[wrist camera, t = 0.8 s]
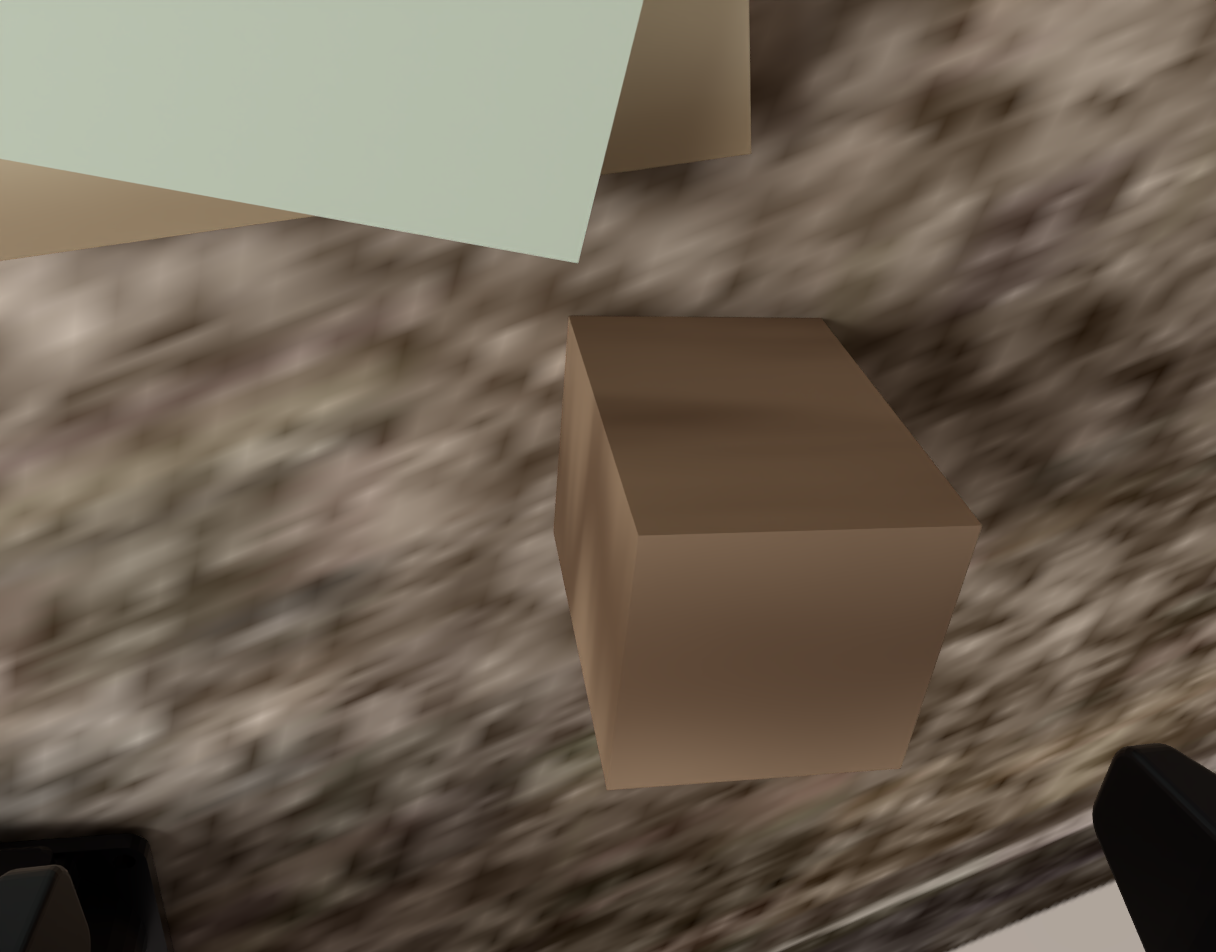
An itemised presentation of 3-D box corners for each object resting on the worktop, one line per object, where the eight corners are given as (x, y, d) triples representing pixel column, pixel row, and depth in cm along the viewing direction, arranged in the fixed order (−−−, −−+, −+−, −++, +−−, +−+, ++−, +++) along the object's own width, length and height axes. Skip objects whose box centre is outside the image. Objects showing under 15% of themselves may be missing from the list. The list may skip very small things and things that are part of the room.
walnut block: (777, 524, 24) (900, 768, 18) (553, 531, 23) (606, 790, 17) (821, 317, 21) (982, 525, 15) (568, 315, 20) (637, 535, 14)
